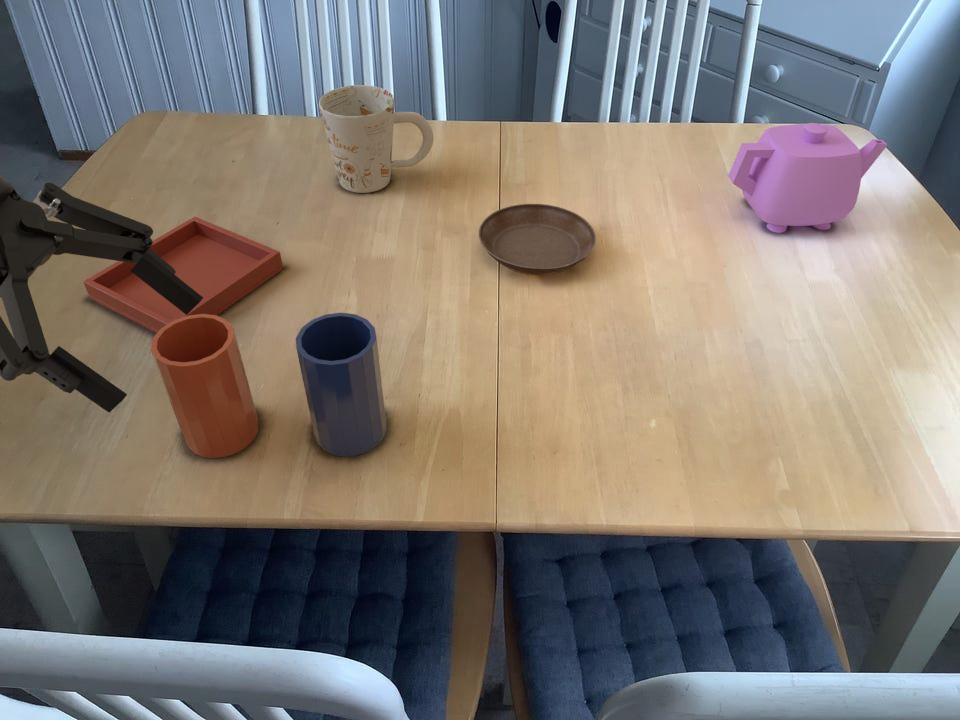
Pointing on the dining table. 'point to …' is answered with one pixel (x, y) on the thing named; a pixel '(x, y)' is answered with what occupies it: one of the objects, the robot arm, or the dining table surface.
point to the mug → (366, 135)
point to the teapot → (802, 174)
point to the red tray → (188, 274)
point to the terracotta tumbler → (206, 384)
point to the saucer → (537, 238)
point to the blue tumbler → (342, 383)
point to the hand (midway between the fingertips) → (159, 352)
